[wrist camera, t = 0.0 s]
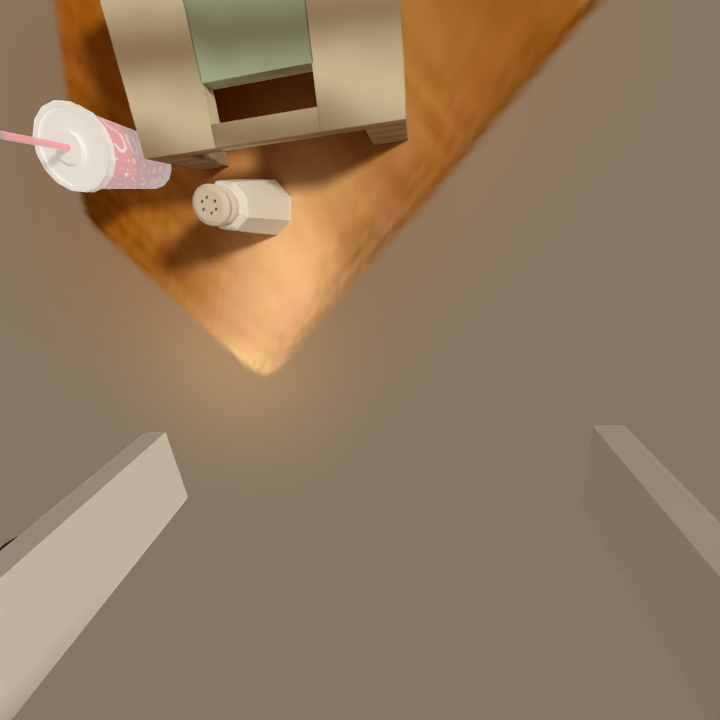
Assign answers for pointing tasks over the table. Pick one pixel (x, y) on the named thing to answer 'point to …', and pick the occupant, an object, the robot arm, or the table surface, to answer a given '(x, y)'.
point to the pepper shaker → (244, 205)
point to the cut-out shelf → (193, 107)
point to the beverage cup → (90, 151)
